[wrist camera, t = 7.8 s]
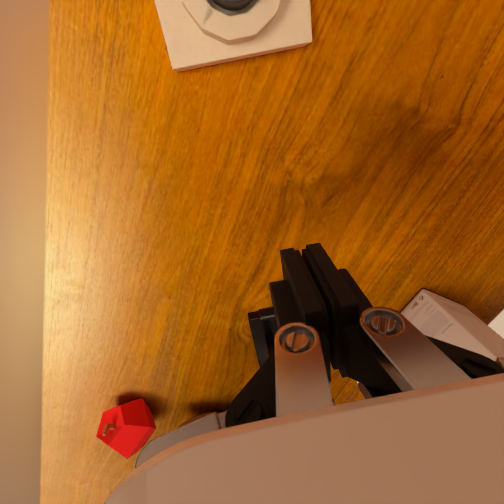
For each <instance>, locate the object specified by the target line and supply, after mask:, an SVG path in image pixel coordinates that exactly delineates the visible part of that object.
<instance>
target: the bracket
mask: <svg viewBox="0 0 504 504" xmlns="http://www.w3.org/2000/svg"><path fill="white" fill-rule="evenodd" d="M248 319H249V323H250V328H251V332H252V336H253V340H254V344H255V348H256V353H257V357H258V361H259V365H260V368H261V366H262V365H263V364H264V363H265V362H266V360H267V359H268V358H269V357H270V356H271V354H272V353H273V352H274V351H275V342H274V340H275V335H276V333H277V331H278V326H277V322H276V320H273V321H268V322H263V323H261V319H260V314H259V311H257V312H252V313H248ZM332 402H333V406H334V405H335V402H334V399H333V398H332Z"/></svg>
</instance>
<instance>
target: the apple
mask: <svg viewBox="0 0 504 504" xmlns="http://www.w3.org/2000/svg"><path fill="white" fill-rule="evenodd" d="M155 429H156V426H155V423H154V419H153V416H152V412H151V410H150V409H149V407H148V406H147V404H146V403H145V401H144V400H143V398H140V399H137V400H134V401H131V402H128V403H125V404H122V405H119V406H117V407H115V408H112V409H110V410H108V411H105V412H103V415H102V419H101V422H100V425H99V428H98V432H97V435H96V437H98V438H99V439H100V440H102V441H103V442H104V443H105V444H107V445H108V446H110V447H111V448H112V449H114V450H115V451H117V452H118V453H120V454H121V455H123V456H124V457H125V458H127V459H128V458H129V457H130V456H132V455H133V454H134V453H136V452H137V451H138V450H139V449H141V448H142V447H143V446H144V445H145V443H146V442H147V441H148V439H149V438H150V436H151V435H152V434H153V432H154V431H155Z"/></svg>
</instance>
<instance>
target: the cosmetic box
mask: <svg viewBox="0 0 504 504" xmlns="http://www.w3.org/2000/svg"><path fill="white" fill-rule="evenodd" d="M401 314H402V315H403V316H404V317H405V318H407V319H408V320H409V321H410V322H411V323H412V324H413V325H414V326H415V327H416V328H417V329H418V330H419V331H421V332H422V333H423V334H424V335H426V336H429V337H432V338H435V339H438V340H441V341H444V342H447V343H450V344H452V345H455V346H458V347H461V348H464V349H467V350H470V351H473V352H476V353H478V354H481V355H483V356H486V357H488V358H490V359H492V360H493V361H496V359H497V357H504V339H503V338H502V337H501V336H500V335H498V334H497V333H496V332H495V331H493V330H492V329H491V328H489V326H487V325H486V324H485V323H484V322H483V321H481V320H480V319H479V318H478V317H477V316H475V315H474V314H473V313H472V312H471V311H469V310H468V309H467V308H466V307H465V306H463V305H460V304H458V303H456V302H453V301H451V300H449V299H446V298H444V297H442V296H439V295H437V294H435V293H432V292H430V291H428V290H425V289H422V290H421V291H420V292H419V293H418V294H417V295H416V296H415V297H414V298H413V299H412V300H411V302H410V303H409V304H408V305H407V306H406V307H405V308H404V309H403V310H402V312H401Z"/></svg>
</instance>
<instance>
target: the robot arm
mask: <svg viewBox="0 0 504 504" xmlns="http://www.w3.org/2000/svg"><path fill="white" fill-rule="evenodd" d="M280 254H281V262H282V270H283V277H284V280H282V281H276V282H271V283H269V286H270V292H271V298H272V303H273V309H274V313H275V318H276V322H277V326H278V331H277V333H276V335H275V340H274V342H275V351H274V352H273V353H272V354H271V356H270V357H269V358H268V359H267V360H266V362H265V363H264V364H263V365H262V366H261V368H260V369H259V370H258V371H257V372H256V374H255V375H254V376H253V377H252V378H251V380H250V381H249V382H248V383H247V384H246V386H245V387H244V388H243V389H242V390H241V392H240V393H239V394H238V395H237V396H236V398H235V399H234V400H233V401H232V402H231V404H230V406H229V407H228V409H227V410H226V411H224V412H222V413H220V414H216V412H213V413H211V414H209V415H207V416H204V417H202V418H200V419H197V420H195V421H193V422H191V423H188V424H186V425H184V426H182V427H179V428H177V429H175V430H172V431H170V432H168V433H166V434H163V435H161V436H159V437H156V438H155V439H153V440H152V441H150V442H149V443H148V444H147V445H146V446H145V447H144V448H143V449H142V450H141V452H140V454H139V456H138V458H137V460H136V466H135V470H133V471H132V472H131V473H130V474H129V475H127V476H126V477H125V478H124V479H123V480H122V481H121V482H120V483H119V484H118V485H117V486H116V487H115V488H114V490H113V491H112V492H111V493H110V495H109V497H108V498H107V500H106V501H105V503H104V504H504V357H497V359H496V361H493V360H492V359H490V358H488V357H486V356H483V355H481V354H478V353H476V352H473V351H470V350H467V349H464V348H461V347H458V346H455V345H452V344H450V343H447V342H444V341H441V340H438V339H435V338H432V337H429V336H426V335H424V334H423V333H422V332H421V331H419V330H418V329H417V328H416V327H415V326H414V325H413V324H412V323H411V322H410V321H409V320H408V319H407V318H405V317H404V316H403V315H402V314H401V313H399V312H398V311H396V310H393V309H391V308H387V307H373V306H372V305H371V303H370V302H369V300H368V299H367V298H366V296H365V295H364V293H363V292H362V291H361V289H360V288H359V286H358V285H357V284H356V282H355V281H354V279H353V278H352V277H351V275H350V274H349V272H348V271H347V270H346V269H339V270H337V268H336V267H335V265H334V264H333V262H332V261H331V259H330V258H329V256H328V255H327V253H326V252H325V250H324V249H323V247H322V246H321V244H320V243H315V244H310V245H306V249H302V256H301V254H300V252H299V250H296V251H295V250H294V248H289V249H283V250H280ZM330 362H331V364H332V367H333V369H334V370H335V369H339V371H340V374H341V376H342V378H343V377H350V378H352V379H354V380H356V381H357V384H358V387H359V389H360V391H361V392H362V394H363V395H364V397H365V400H360V401H355V402H349V403H344V404H339V405H334V406H333V402H332V397H331V392H330V387H329V383H330V381H331V370H330Z"/></svg>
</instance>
